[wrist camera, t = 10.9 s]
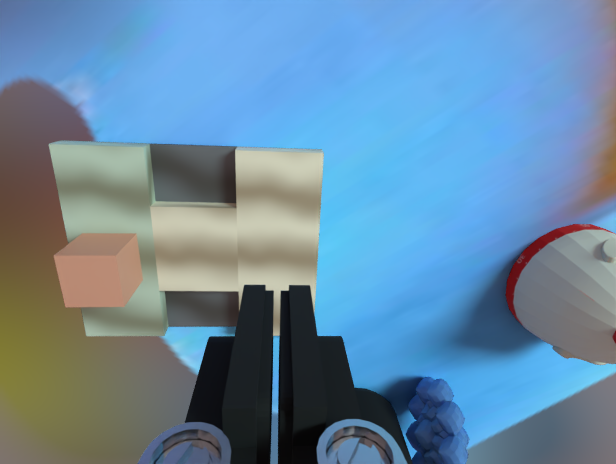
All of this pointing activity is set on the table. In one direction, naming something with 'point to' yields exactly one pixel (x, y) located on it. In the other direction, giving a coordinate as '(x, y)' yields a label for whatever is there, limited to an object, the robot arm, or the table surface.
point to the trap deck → (194, 225)
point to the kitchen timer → (569, 292)
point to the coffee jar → (381, 416)
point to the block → (99, 269)
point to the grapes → (437, 425)
